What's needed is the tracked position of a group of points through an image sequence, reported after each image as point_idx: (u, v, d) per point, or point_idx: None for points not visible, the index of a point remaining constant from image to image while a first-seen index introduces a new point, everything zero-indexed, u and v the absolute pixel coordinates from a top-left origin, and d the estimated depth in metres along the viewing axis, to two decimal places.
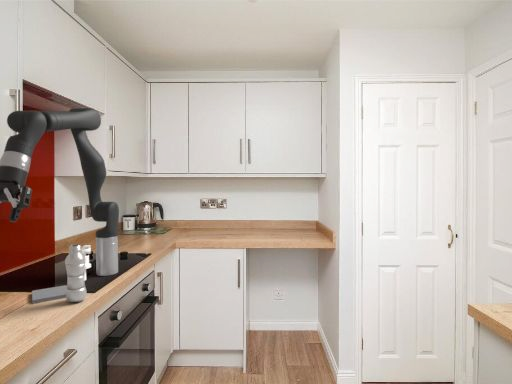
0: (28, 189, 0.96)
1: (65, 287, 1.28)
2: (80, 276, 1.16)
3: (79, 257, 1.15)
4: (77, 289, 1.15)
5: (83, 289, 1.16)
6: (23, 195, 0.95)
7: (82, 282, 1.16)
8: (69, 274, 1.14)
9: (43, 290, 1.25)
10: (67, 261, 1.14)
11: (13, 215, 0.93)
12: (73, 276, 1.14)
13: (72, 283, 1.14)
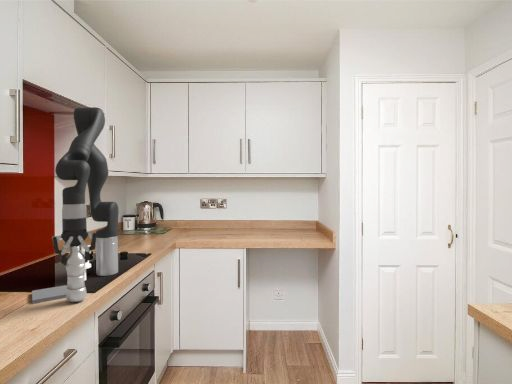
0: (95, 235, 1.20)
1: (65, 287, 1.28)
2: (80, 276, 1.16)
3: (79, 257, 1.15)
4: (77, 289, 1.15)
5: (83, 289, 1.16)
6: (94, 241, 1.19)
7: (82, 282, 1.16)
8: (69, 274, 1.14)
9: (43, 290, 1.25)
10: (67, 261, 1.14)
11: (87, 257, 1.18)
12: (73, 276, 1.14)
13: (72, 283, 1.14)
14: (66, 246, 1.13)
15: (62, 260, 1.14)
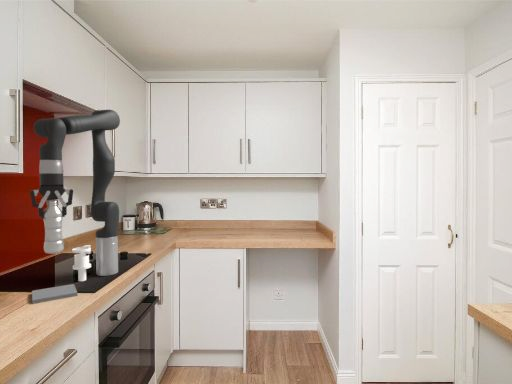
0: (72, 191, 1.26)
1: (65, 287, 1.28)
2: (57, 229, 1.22)
3: (56, 211, 1.21)
4: (54, 241, 1.21)
5: (60, 242, 1.22)
6: (71, 197, 1.25)
7: (59, 235, 1.22)
8: (47, 227, 1.20)
9: (43, 290, 1.25)
10: (44, 214, 1.20)
11: (65, 212, 1.24)
12: (50, 228, 1.20)
13: (49, 235, 1.20)
14: (43, 200, 1.19)
15: (40, 213, 1.20)
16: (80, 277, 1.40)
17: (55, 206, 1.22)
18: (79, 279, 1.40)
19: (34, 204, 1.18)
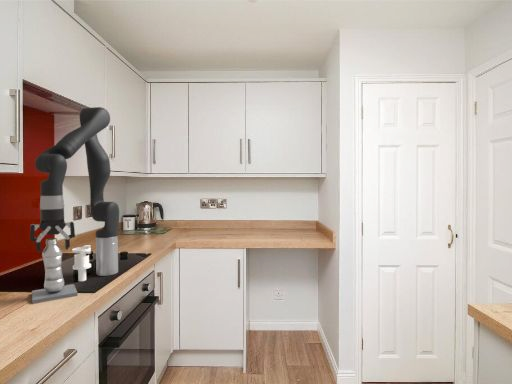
0: (73, 223, 1.26)
1: (65, 287, 1.28)
2: (57, 267, 1.22)
3: (55, 250, 1.21)
4: (55, 280, 1.21)
5: (60, 280, 1.23)
6: (73, 229, 1.25)
7: (59, 273, 1.23)
8: (46, 266, 1.21)
9: (43, 290, 1.25)
10: (44, 254, 1.20)
11: (68, 245, 1.25)
12: (50, 268, 1.21)
13: (49, 275, 1.21)
14: (42, 234, 1.19)
15: (37, 247, 1.20)
16: (80, 277, 1.40)
17: (54, 245, 1.22)
18: (79, 279, 1.40)
19: (32, 239, 1.18)
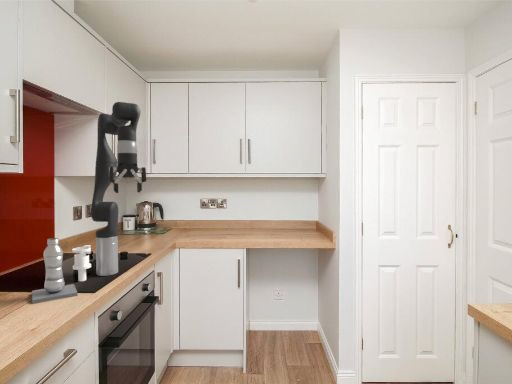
0: None
1: (65, 287, 1.28)
2: (58, 267, 1.22)
3: (57, 250, 1.22)
4: (55, 280, 1.21)
5: (61, 280, 1.23)
6: (145, 174, 1.35)
7: (60, 273, 1.23)
8: (47, 266, 1.21)
9: (43, 290, 1.25)
10: (45, 253, 1.20)
11: (140, 188, 1.35)
12: (51, 268, 1.21)
13: (49, 275, 1.21)
14: (120, 176, 1.29)
15: (115, 188, 1.29)
16: (80, 277, 1.40)
17: (55, 245, 1.22)
18: (79, 279, 1.40)
19: (111, 179, 1.28)
